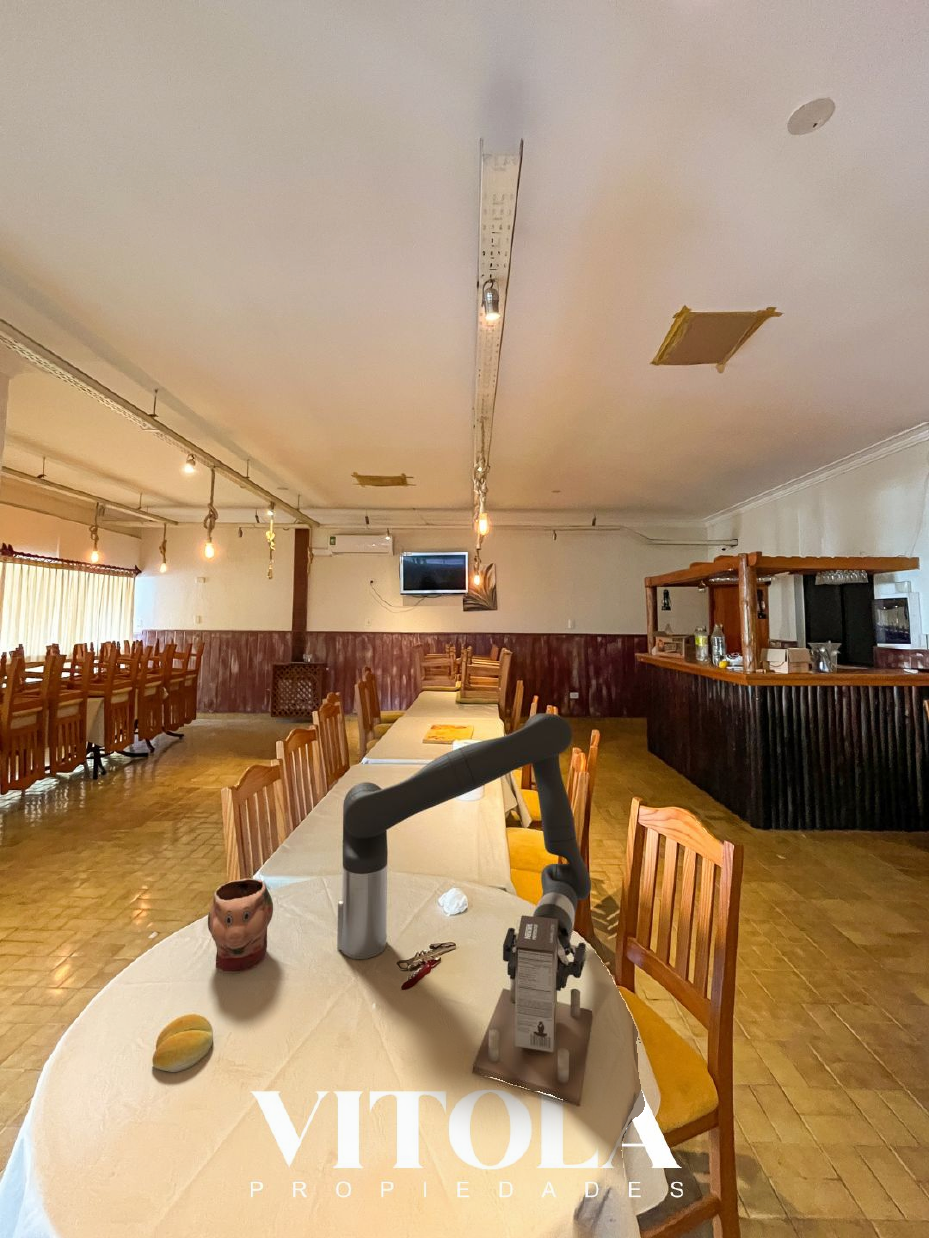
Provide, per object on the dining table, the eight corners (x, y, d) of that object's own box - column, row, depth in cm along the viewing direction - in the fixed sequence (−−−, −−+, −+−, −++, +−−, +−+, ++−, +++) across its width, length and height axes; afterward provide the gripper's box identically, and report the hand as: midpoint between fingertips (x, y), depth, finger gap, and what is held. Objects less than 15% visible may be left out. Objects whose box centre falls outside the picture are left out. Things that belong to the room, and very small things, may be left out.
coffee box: (519, 1005, 93) (521, 912, 93) (557, 1011, 92) (558, 917, 92) (513, 1047, 84) (515, 945, 84) (555, 1054, 83) (557, 950, 83)
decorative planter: (208, 933, 116) (209, 869, 116) (269, 921, 121) (269, 859, 121) (205, 994, 98) (206, 917, 98) (276, 977, 103) (277, 904, 103)
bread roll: (148, 1082, 80) (148, 1055, 80) (159, 1037, 88) (159, 1012, 88) (210, 1066, 83) (210, 1040, 83) (215, 1024, 91) (215, 1001, 91)
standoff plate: (472, 1072, 82) (473, 1038, 82) (503, 994, 99) (503, 966, 99) (579, 1105, 77) (580, 1069, 77) (592, 1017, 94) (592, 987, 94)
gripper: (515, 895, 104) (491, 946, 88) (592, 910, 99) (581, 966, 83) (514, 934, 104) (490, 991, 88) (591, 950, 99) (580, 1014, 83)
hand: (534, 979), depth 86 cm, fingers closed on coffee box, 7 cm apart
